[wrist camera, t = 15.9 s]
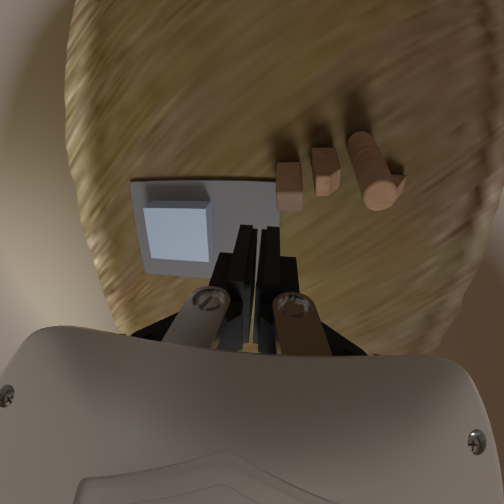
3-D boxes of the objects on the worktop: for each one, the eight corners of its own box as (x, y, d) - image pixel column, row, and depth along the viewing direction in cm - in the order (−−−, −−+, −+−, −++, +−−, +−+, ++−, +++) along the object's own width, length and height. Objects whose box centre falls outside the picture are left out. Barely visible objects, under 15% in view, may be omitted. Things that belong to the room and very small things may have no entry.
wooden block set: (279, 183, 38) (277, 238, 32) (273, 130, 32) (271, 180, 26) (398, 184, 36) (419, 237, 30) (410, 134, 29) (442, 184, 23)
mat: (131, 181, 37) (129, 182, 37) (281, 181, 36) (281, 182, 35) (146, 271, 45) (145, 273, 45) (275, 280, 44) (275, 282, 43)
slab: (210, 201, 37) (151, 200, 38) (205, 208, 35) (143, 208, 36) (213, 251, 41) (158, 248, 42) (209, 262, 39) (151, 258, 40)
